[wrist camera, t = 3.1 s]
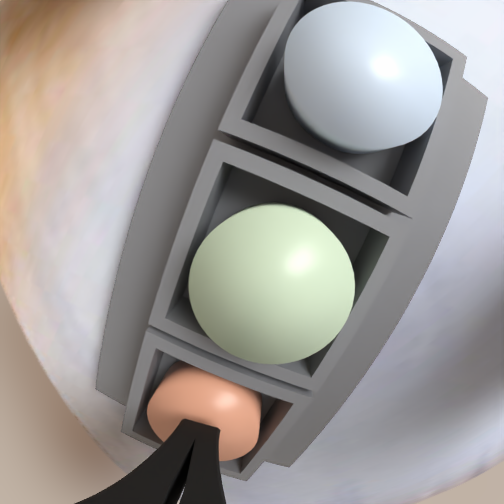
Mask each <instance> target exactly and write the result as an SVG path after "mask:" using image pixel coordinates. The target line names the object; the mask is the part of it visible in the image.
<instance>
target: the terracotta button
mask: <svg viewBox="0 0 504 504" xmlns="http://www.w3.org/2000/svg"><path fill="white" fill-rule="evenodd" d="M261 409H262V394H261V392H258V391H255V390H253V389H250V388H247V387H245V386H242V385H239V384H237V383H234V382H232V381H229V380H227V379H224V378H222V377H219V376H217V375H214V374H212V373H209V372H207V371H205V370H202V369H200V368H198V367H195V366H193V365H191V364H189V363H186V362H184V361H182V360H180V361H178V362H176V363H175V364H173V365H172V366H171V367H170V368H169V369H168V371H167V372H166V374H165V376H164V377H163V379H162V381H161V382H160V384H159V386H158V388H157V389H156V391H155V393H154V394H153V396H152V398H151V400H150V401H149V404H148V408H147V416H148V420H149V423H150V425H151V427H152V429H153V431H154V432H155V433H156V435H157V436H158V437H159V438H160V439H161V440H162V441H163V442H165V441H166V439H167V438H168V437H169V436H170V435H171V434H172V432H173V431H174V430H175V429H176V427H177V426H178V425H179V423H180V422H181V420H182V419H188V420H192V421H195V422H199V423H203V424H206V425H210V426H214V427H218V428H219V429H220V430H221V431H220V437H219V461H228V460H233V459H236V458H239V457H241V456H243V455H245V454H247V453H248V452H249V451H251V450H252V449H253V447H254V446H255V444H256V443H257V440H258V435H259V427H260V418H261Z"/></svg>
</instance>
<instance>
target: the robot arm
mask: <svg viewBox="0 0 504 504" xmlns="http://www.w3.org/2000/svg"><path fill="white" fill-rule="evenodd" d="M220 431H221V430H220V429H219V428H218V427H214V426H210V425H206V424H203V423H199V422H195V421H192V420H188V419H182V420H181V422H180V423H179V425H178V426H177V427H176V429H175V430H174V431H173V432H172V434H171V435H170V436H169V437H168V438H167V439H166V441H165V442H164V443H163V444H162V445H161V446H160V447H159V448H158V449H157V450H156V451H155V452H154V453H153V454H152V455H151V456H150V457H149V458H147V459H146V460H145V461H144V462H143V463H142V464H140V465H139V466H138V467H137V468H136V469H134V470H133V471H132V472H130V473H129V474H128V475H126V476H125V477H124V478H122V479H121V480H119V481H118V482H116V483H115V484H113V485H111V486H110V487H108V488H107V489H104V490H103V491H101V492H99V493H97V494H96V495H93V496H91V497H89V498H87V499H84V500H82V501H80V502H77V503H75V504H177V502H178V500H179V498H180V495H181V493H182V491H183V489H184V492H183V495H182V498H181V500H180V503H179V504H226V500H225V496H224V491H223V486H222V480H221V473H220V465H219V437H220ZM185 484H186V485H185ZM184 486H185V488H184Z"/></svg>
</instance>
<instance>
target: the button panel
mask: <svg viewBox="0 0 504 504" xmlns="http://www.w3.org/2000/svg"><path fill="white" fill-rule="evenodd" d="M336 2H361V3H366V4H371V5H374V6H377V7H380V8H383V9H385V10H387V11H389V12H391V13H393V14H395V15H397V16H398V17H400V18H401V19H403V20H404V21H405V22H407V23H408V24H409V25H410V26H412V27H413V28H414V29H415V30H416V31H417V32H418V33H419V34H420V35H421V37H422V38H423V39H424V40H425V42H426V43H427V44H428V46H429V47H430V49H431V51H432V52H433V54H434V56H435V59H436V61H437V63H438V66H439V69H440V73H441V78H442V87H443V93H442V101H441V106H440V109H439V112H438V114H437V117H436V118H435V120H434V122H433V123H432V125H431V126H430V127H429V128H428V129H427V131H425V132H424V133H423V134H422V135H421V136H419V137H418V138H416V139H415V140H413V141H411V142H408V143H406V144H403V145H400V146H396V147H392V148H389V149H385V150H381V151H378V152H374V153H367V154H353V153H346V152H342V151H339V150H336V149H333V148H331V147H328V146H326V145H325V144H323V143H321V142H319V141H318V140H316V139H315V138H314V137H312V136H311V135H310V134H309V133H308V132H307V131H305V129H304V128H303V127H302V126H301V125H300V124H299V123H298V121H297V120H296V118H295V117H294V115H293V113H292V111H291V110H290V108H289V105H288V102H287V99H286V95H285V89H284V56H285V48H286V43H287V40H288V38H289V35H290V33H291V31H292V30H293V28H294V26H295V25H296V24H297V23H298V22H299V21H300V19H302V18H303V17H304V16H305V15H306V14H308V13H309V12H311V11H313V10H314V9H316V8H319V7H321V6H323V5H327V4H331V3H336ZM466 59H467V57H466V56H465V55H464V54H462V53H461V52H460V51H458V50H457V49H455V48H454V47H452V46H451V45H449V44H448V43H446V42H445V41H443V40H442V39H440V38H439V37H437V36H436V35H434V34H433V33H431V32H429V31H428V30H426V29H424V28H423V27H421V26H419V25H418V24H416V23H414V22H412V21H411V20H409V19H407V18H405V17H403V16H401V15H400V14H398V13H396V12H394V11H392V10H390V9H388V8H386V7H384V6H382V5H380V4H378V3H375V2H373V1H371V0H228V2H227V4H226V5H225V7H224V9H223V10H222V12H221V14H220V16H219V17H218V19H217V21H216V23H215V24H214V26H213V28H212V30H211V32H210V33H209V35H208V37H207V39H206V41H205V43H204V45H203V46H202V48H201V50H200V52H199V54H198V56H197V58H196V60H195V62H194V64H193V66H192V68H191V70H190V72H189V74H188V76H187V79H186V81H185V83H184V85H183V87H182V89H181V91H180V94H179V96H178V98H177V100H176V103H175V105H174V107H173V109H172V112H171V114H170V116H169V119H168V121H167V124H166V126H165V128H164V131H163V133H162V136H161V138H160V141H159V143H158V146H157V149H156V151H155V154H154V156H153V159H152V162H151V165H150V167H149V170H148V173H147V176H146V179H145V181H144V184H143V187H142V190H141V193H140V196H139V199H138V202H137V205H136V208H135V212H134V215H133V218H132V221H131V225H130V228H129V231H128V235H127V238H126V242H125V245H124V249H123V253H122V257H121V260H120V264H119V268H118V272H117V276H116V280H115V284H114V289H113V293H112V297H111V302H110V307H109V311H108V316H107V321H106V326H105V331H104V337H103V343H102V348H101V354H100V361H99V367H98V374H97V381H96V390H98V391H100V392H101V393H103V394H105V395H107V396H108V397H110V398H112V399H114V400H116V401H117V402H119V403H121V404H123V405H125V406H126V411H125V415H124V420H123V424H122V429H121V432H123V433H125V434H126V435H128V436H130V437H132V438H134V439H136V440H138V441H141V442H143V443H145V444H147V445H149V446H151V447H153V448H156V449H158V448H159V447H160V446H161V445H162V444H163V443H164V442H163V441H162V440H161V439H160V438H159V437H158V436H157V435H156V433H155V432H154V431H153V429H152V427H151V425H150V423H149V420H148V416H147V408H148V404H149V401H150V400H151V398H152V396H153V394H154V393H155V391H156V389H157V388H158V386H159V384H160V382H161V381H162V379H163V377H164V376H165V374H166V372H167V371H168V369H169V368H170V367H171V366H172V365H173V364H175V363H176V362H178V361H180V360H182V361H184V362H186V363H189V364H191V365H193V366H195V367H198V368H200V369H202V370H205V371H207V372H209V373H212V374H214V375H217V376H219V377H222V378H224V379H227V380H229V381H232V382H234V383H237V384H239V385H242V386H245V387H247V388H250V389H253V390H255V391H258V392H261V394H262V409H261V418H260V427H259V435H258V440H257V443H256V444H255V446H254V447H253V449H252V450H251V451H249V452H248V453H247V454H245V455H243V456H241V457H239V458H236V459H233V460H228V461H219V465H220V473H221V474H224V475H227V476H230V477H233V478H237V479H240V480H244V481H247V480H248V479H249V478H250V477H251V476H252V474H253V473H254V472H255V471H256V470H257V469H258V468H259V466H260V465H261V464H262V463H263V462H264V461H266V462H270V463H274V464H277V465H281V466H285V467H290V466H291V465H292V464H293V463H294V462H295V461H296V460H297V458H298V457H299V456H300V455H301V454H302V453H303V452H304V451H305V450H306V449H307V447H308V446H309V445H310V444H311V443H312V442H313V441H314V439H315V438H316V437H317V436H318V435H319V434H320V432H321V431H322V430H323V429H324V428H325V426H326V425H327V424H328V423H329V421H330V420H331V419H332V418H333V416H334V415H335V414H336V413H337V411H338V410H339V409H340V408H341V406H342V405H343V404H344V402H345V401H346V400H347V398H348V397H349V396H350V394H351V393H352V392H353V390H354V389H355V388H356V386H357V385H358V383H359V382H360V381H361V379H362V378H363V376H364V375H365V373H366V372H367V371H368V369H369V368H370V366H371V365H372V363H373V362H374V360H375V359H376V357H377V356H378V354H379V353H380V351H381V350H382V348H383V346H384V345H385V343H386V342H387V340H388V338H389V337H390V335H391V334H392V332H393V330H394V329H395V327H396V325H397V324H398V322H399V320H400V319H401V317H402V315H403V313H404V312H405V310H406V308H407V306H408V305H409V303H410V301H411V299H412V297H413V296H414V294H415V292H416V290H417V288H418V286H419V284H420V282H421V280H422V278H423V276H424V275H425V273H426V271H427V269H428V267H429V264H430V262H431V260H432V258H433V256H434V254H435V252H436V250H437V248H438V245H439V243H440V241H441V239H442V237H443V234H444V232H445V230H446V227H447V225H448V223H449V220H450V218H451V215H452V213H453V210H454V208H455V205H456V203H457V200H458V197H459V195H460V192H461V189H462V187H463V184H464V181H465V178H466V175H467V172H468V169H469V166H470V163H471V160H472V157H473V153H474V150H475V147H476V143H477V140H478V136H479V133H480V129H481V125H482V121H483V117H484V113H485V109H486V104H487V100H488V97H486V96H485V95H484V94H483V93H482V92H480V91H479V90H478V89H476V88H475V87H474V86H473V85H471V84H470V83H469V82H467V81H466V80H465V79H463V78H462V77H463V73H464V68H465V64H466ZM268 202H278V203H286V204H291V205H294V206H297V207H300V208H302V209H304V210H306V211H308V212H310V213H311V214H313V215H314V216H315V217H317V218H318V219H319V220H320V221H321V222H322V223H323V224H324V225H325V226H326V227H327V228H328V229H329V230H330V231H331V232H332V233H333V234H334V235H335V236H336V238H337V239H338V240H339V241H340V243H341V244H342V246H343V247H344V249H345V251H346V252H347V254H348V257H349V259H350V262H351V264H352V269H353V273H354V281H355V294H354V300H353V305H352V308H351V311H350V314H349V317H348V319H347V321H346V323H345V324H344V326H343V327H342V329H341V330H340V332H339V333H338V334H337V335H336V337H335V338H334V339H333V340H332V341H331V342H330V343H329V344H327V345H326V346H325V347H324V348H322V349H321V350H319V351H318V352H316V353H314V354H312V355H311V356H309V357H306V358H304V359H301V360H298V361H294V362H290V363H284V364H260V363H255V362H250V361H247V360H244V359H241V358H238V357H236V356H234V355H232V354H230V353H228V352H227V351H225V350H224V349H222V348H221V347H220V346H218V345H217V344H216V343H215V342H214V341H213V340H212V339H211V338H210V337H209V336H208V335H207V334H206V333H205V331H204V330H203V329H202V327H201V326H200V324H199V322H198V321H197V319H196V317H195V314H194V312H193V309H192V306H191V302H190V297H189V274H190V268H191V265H192V262H193V259H194V257H195V254H196V252H197V250H198V248H199V247H200V245H201V244H202V242H203V241H204V239H205V238H206V237H207V236H208V235H209V234H210V233H211V232H212V231H213V230H214V229H215V228H216V227H217V226H218V225H220V224H221V223H223V222H224V221H225V220H227V219H228V218H230V217H231V216H232V215H234V214H235V213H237V212H238V211H240V210H242V209H245V208H247V207H249V206H252V205H256V204H261V203H268Z"/></svg>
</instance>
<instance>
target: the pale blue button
mask: <svg viewBox="0 0 504 504" xmlns="http://www.w3.org/2000/svg"><path fill="white" fill-rule="evenodd" d="M284 89H285V95H286V99H287V102H288V105H289V108H290V110H291V111H292V113H293V115H294V117H295V118H296V120H297V121H298V123H299V124H300V125H301V126H302V127H303V128H304V129H305V131H307V132H308V133H309V134H310V135H311V136H312V137H314V138H315V139H316V140H318V141H319V142H321V143H323V144H325V145H326V146H328V147H331V148H333V149H336V150H339V151H342V152H346V153H353V154H367V153H374V152H378V151H381V150H385V149H389V148H392V147H396V146H400V145H403V144H406V143H408V142H411V141H413V140H415V139H416V138H418V137H419V136H421V135H422V134H423V133H424V132H425V131H427V129H428V128H429V127H430V126H431V125H432V123H433V122H434V120H435V118H436V117H437V114H438V112H439V109H440V106H441V101H442V93H443V87H442V78H441V73H440V69H439V66H438V63H437V61H436V59H435V56H434V54H433V52H432V51H431V49H430V47H429V46H428V44H427V43H426V42H425V40H424V39H423V38H422V37H421V35H420V34H419V33H418V32H417V31H416V30H415V29H414V28H413V27H412V26H410V25H409V24H408V23H407V22H405V21H404V20H403V19H401V18H400V17H398V16H397V15H395V14H393V13H391V12H389V11H387V10H385V9H383V8H380V7H377V6H374V5H371V4H366V3H361V2H336V3H331V4H327V5H323V6H321V7H319V8H316V9H314V10H313V11H311V12H309V13H308V14H306V15H305V16H304V17H303V18H302V19H300V21H299V22H298V23H297V24H296V25H295V26H294V28H293V30H292V31H291V33H290V35H289V38H288V40H287V43H286V48H285V56H284Z"/></svg>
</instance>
